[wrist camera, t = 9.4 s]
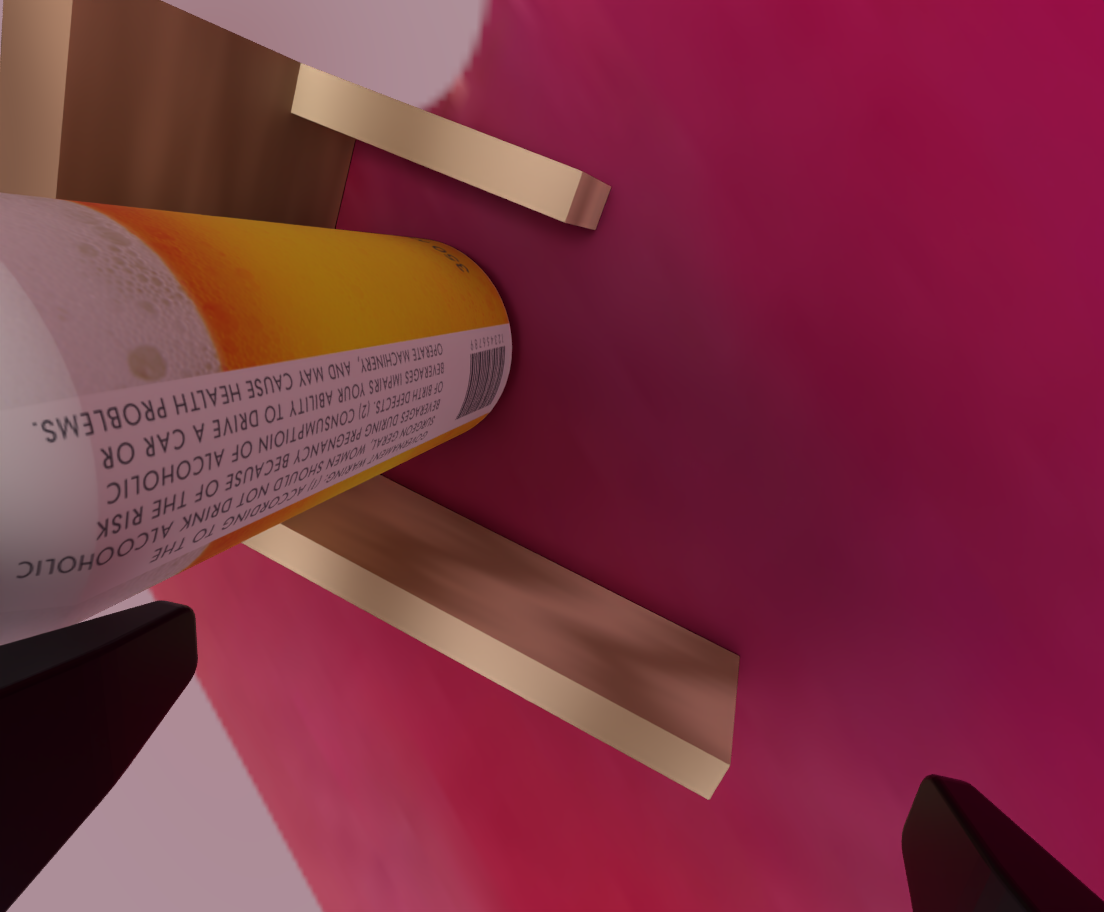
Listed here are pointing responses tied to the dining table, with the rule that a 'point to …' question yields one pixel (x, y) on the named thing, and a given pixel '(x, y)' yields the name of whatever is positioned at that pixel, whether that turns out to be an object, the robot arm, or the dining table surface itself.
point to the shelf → (314, 200)
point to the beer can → (210, 386)
